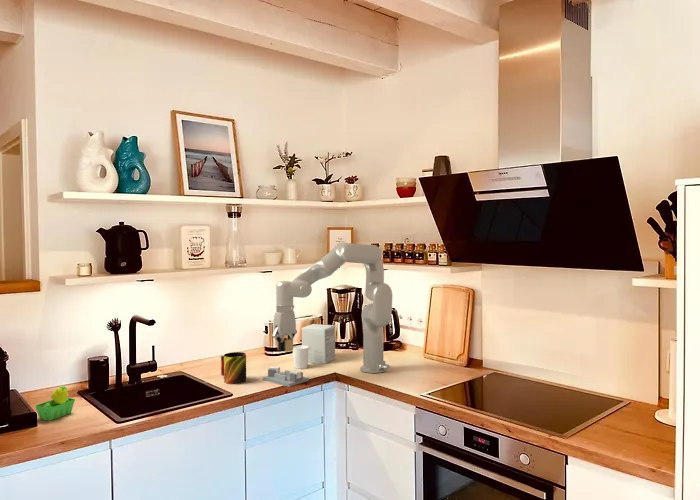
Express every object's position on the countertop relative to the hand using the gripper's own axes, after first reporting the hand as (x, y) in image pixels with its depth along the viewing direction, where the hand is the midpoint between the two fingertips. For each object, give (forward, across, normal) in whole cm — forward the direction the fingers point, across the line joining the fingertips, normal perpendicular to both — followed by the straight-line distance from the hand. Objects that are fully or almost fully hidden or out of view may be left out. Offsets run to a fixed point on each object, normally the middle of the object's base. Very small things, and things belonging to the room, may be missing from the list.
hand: (285, 349), depth 237 cm
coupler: (0, 0, 0) cm, 0 cm away
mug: (+14, +16, -18) cm, 28 cm away
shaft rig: (+14, 0, 0) cm, 14 cm away
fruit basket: (+14, +84, -31) cm, 91 cm away
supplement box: (+14, -36, -14) cm, 41 cm away
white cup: (+14, -20, -11) cm, 27 cm away
